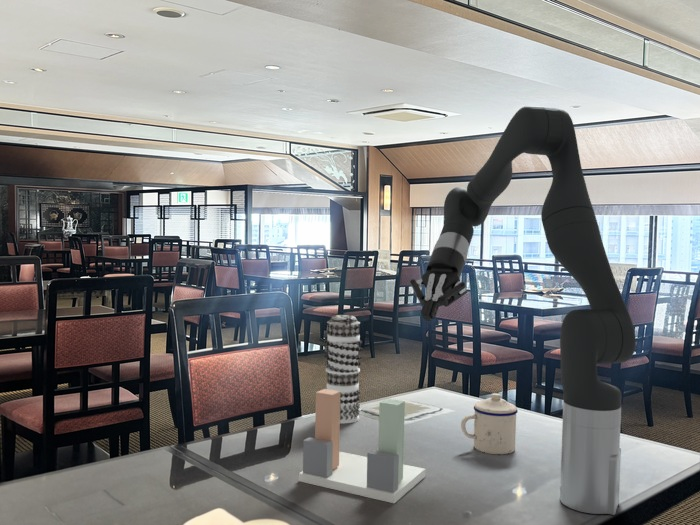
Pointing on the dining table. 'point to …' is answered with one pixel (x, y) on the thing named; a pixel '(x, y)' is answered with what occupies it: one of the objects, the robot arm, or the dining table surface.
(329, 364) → the decorative candle
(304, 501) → the dining table surface
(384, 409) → the sage tab
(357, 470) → the twin block stand
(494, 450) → the teacup with lid
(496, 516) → the dining table surface
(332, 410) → the terracotta tab
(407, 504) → the dining table surface
